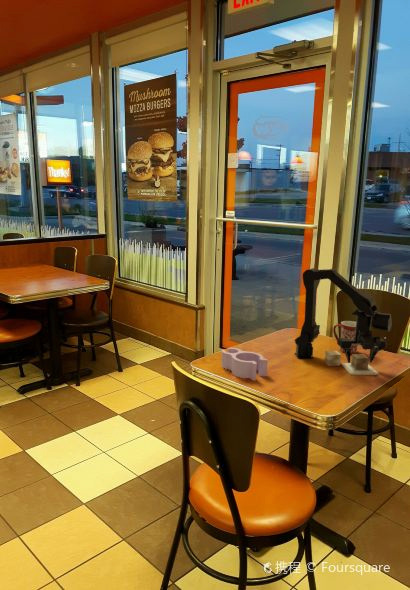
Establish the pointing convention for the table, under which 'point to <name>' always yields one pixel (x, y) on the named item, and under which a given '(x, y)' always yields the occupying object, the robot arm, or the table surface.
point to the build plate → (359, 372)
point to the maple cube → (332, 358)
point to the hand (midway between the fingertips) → (359, 362)
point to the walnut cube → (359, 362)
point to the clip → (244, 363)
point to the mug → (347, 333)
